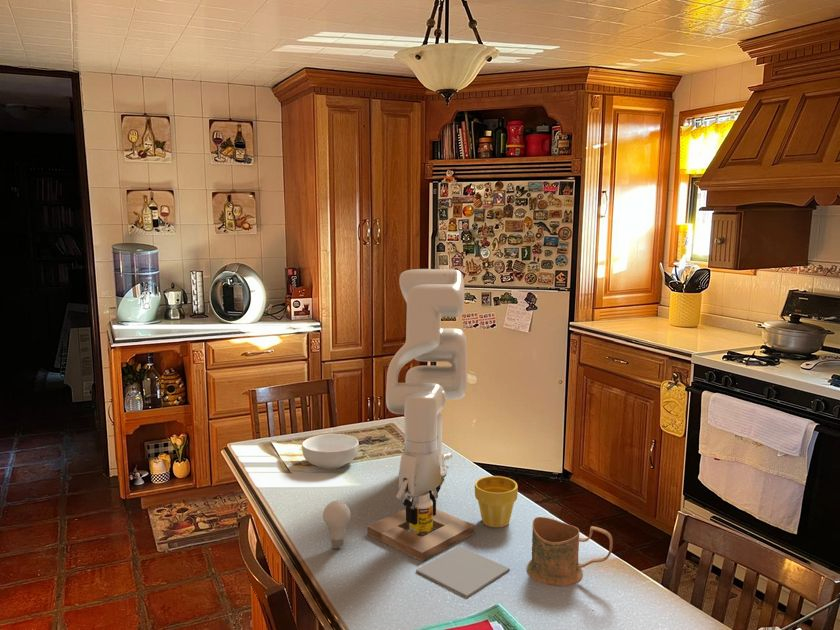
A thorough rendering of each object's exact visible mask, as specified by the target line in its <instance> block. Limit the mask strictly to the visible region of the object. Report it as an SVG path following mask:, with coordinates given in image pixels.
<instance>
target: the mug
mask: <svg viewBox="0 0 840 630" xmlns="http://www.w3.org/2000/svg"><path fill="white" fill-rule="evenodd" d="M531 526H532V535H531V536H532V537H531V538H532V539H531V543H532V544H531V560H530V561H529V562H528V563H527V564H526V565H527V566H526V571H527V575H529V576H530V578H531V579H533V580H535V581H536V582H538V583H541V584H544V585H547V586H552V587H569V586H573V585H575V584H577V583H579V582H580V581H581V580H582V578H583V575H584V574H583V569H582V568H585V567H587V566H589V565H591V564H593V563H602V562H605V561H607V560H608V559H609V558H610V556H611V554H612V551H613V548H614V547H613V544H614V539H613V536H612V534H611V533H610V532H609V531H608V530H606V529H603V528H601V527H598V526H593V525H592V526H591V525H590V527H589V535H588V537H585V538H583V537H580V529H579V528H578V527H576V526H574V525H571V524H570V523H569V524H568V523H566V522H562V521H560V520H556V519H555V518H549V517H546V516H545V517H544V516H537V517H534V518H533V521H532V525H531ZM594 531H595V532H599V533H601V534H603V535H605V536H606V537H607V538H608V540H609V548H608V553H607V555H606V556H605V557H601V558H594V559H593V558H592V559H590V560H589V561H587V562H585V563H579V550H580V549H579V547H580V543H585V542H588V541H590V538H591V537H592V535H593V534H594V533H593V532H594Z"/></svg>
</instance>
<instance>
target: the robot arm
mask: <svg viewBox="0 0 840 630" xmlns="http://www.w3.org/2000/svg"><path fill="white" fill-rule="evenodd" d="M398 279H399V280H398V281H399V288H400V291H401V295H402V297H403V298H404V300H405V303H406V322H405V323H406V327H405V328H406V329H405V342H404V344H403V345H402V346H401V347H400V348H399V350H397V352H396V353H395V354H394V356H393V357H392V359H391V361H390V362H389V364H388V368H387V372H386V385H385V386H386V388H385V389H386V390H385V404H386V408H387V409H388V411H389V412H390V413H392V414H395V415H403V416H404V427H403V428H404V451H402V453H401V457H400V463H399V471H398V491H397V494H396V496H395V498H396V500H398V501H399V502H400V503H401V504H402V505H403V506H404V507H405V509H406V521H407V522H409V523H411V524H414V525H416V524H417V508H415V506H416V502H417V498H418V496H419V495H421V494H424V493H426V492H428V491H429V494H430V499H431V500H432V501H433V516H435V515H436V509H437V499H438V498H439V492H440V490H441V487H442V485H443V483H444V482H445V477H444V476H446V475H447V473H448V467H447V466H446V465H445V463H446V461H447V460H448V461H449V460H450V459H452V458H453V454H452V453H451V452H450V451H448V452H446V453H444V454H443V444H442V443H443V414H442V410H443V408H445V406H446V403H447V400H460V399H462V398H465V396H466V394H467V391H468V344H467V337H466V336H467V335H466V333H465V332H464V331H463V330H462V329H460V328H455V327H451V328H450V327H442V326H441V318H459V317H460V316H462V315H463V312H464V308H465V299H466V298H465V297H466V296H465V281H464V276H463V273H462V272H461V271H460V270H457V269H450V268H449V269H448V268H447V269H446V268H445V269H444V268H439V269H437V268H433V269H432V268H416V269H407V270H405V271H402V272H401V273H400V275H399V278H398ZM413 360H415V361H418V362H424V363H425V362H430V363H431V362H432V363H433V362H435V363H436V362H437V363H439V362H440V363H450V364H451V365H416V366H413V367H410V368H409V369H408V370H407V372H406V374H405V382H399V376H400V372H401V370H402V368H403V367H404V366H405V365H406V364H408V363H409V362H411V361H413ZM411 499H412V501H410V500H411Z"/></svg>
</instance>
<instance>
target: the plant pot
mask: <svg viewBox="0 0 840 630" xmlns="http://www.w3.org/2000/svg"><path fill="white" fill-rule="evenodd" d="M518 489H519V487H518V483H517V482H516V481H515V480H514V479H511V478H510V477H506V476H501V475H489V476H483V477H481V478H479V479H477V480H476V481H475V482H474V496H475V499H476V500H477V502H478V507H479V512H480V517H481V522H482V524H484V525H485V526H487V527H490V528H503V527H506V526H507V525H509V523H510V520H511V517H512V513H513V509H514V505H515V502H516V501H517V500H518V494H519V493H518V492H519V491H518Z"/></svg>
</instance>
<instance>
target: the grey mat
mask: <svg viewBox="0 0 840 630" xmlns="http://www.w3.org/2000/svg"><path fill="white" fill-rule="evenodd" d="M509 571H510V567H507V566H505V565H503V564H501V563H498V562H496V561H494V560H492V559H489V558H488V557H485V556H483V555H481V554H478V553H476V552H474V551H472V550H469V549H467V548H465V547H462V546H460V545H458V546H457V547H454V548H452V549H451V550H449V551H448V552H445V553H444V554H442V555H440V556H438V557H437V558H435V559H433V560H431V561H430V562H428V563H426V564H424V565H422V566H420V567H418V568H417V569H416V570H415V572H416V573H418V574H419V575H421V576H424V577H426V578H427V579H429V580H432V581H433V582H435V583H437V584H439V585H441V586H443V587H445V588H447V589H449V590H450V591H453V592H455V593H457V594H459V595H460V596H462V597H464V598H469V597H471V596H473V595H474V594H475V593H477V592H479V591H480V590H482V589H483V588H484V587H486V586H488V585H490V584H491V583H492V582H494V581H496V580H497V579H499V578H500V577H502V576H503V575H505V574H506V573H508V572H509Z"/></svg>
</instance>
